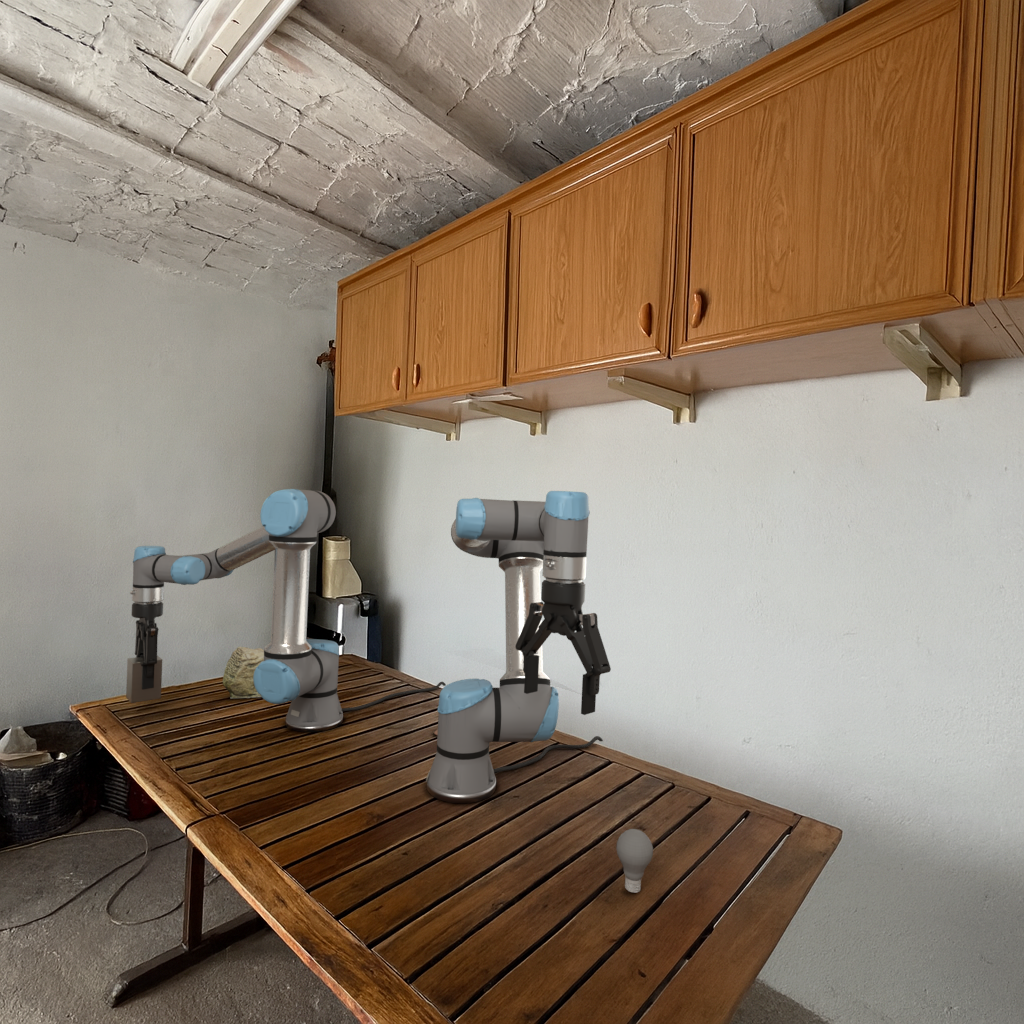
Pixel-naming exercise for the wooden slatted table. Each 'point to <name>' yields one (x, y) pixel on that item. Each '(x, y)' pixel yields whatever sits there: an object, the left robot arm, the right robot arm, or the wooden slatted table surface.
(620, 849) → the light bulb
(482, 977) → the wooden slatted table surface
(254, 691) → the fossil
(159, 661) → the grey boxy piece
